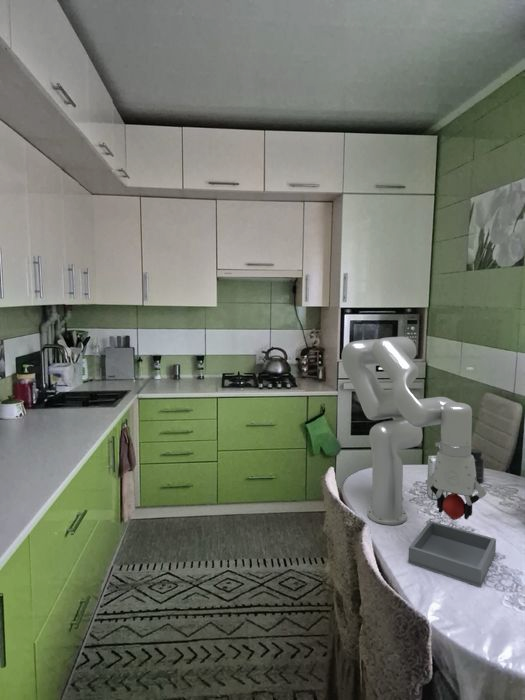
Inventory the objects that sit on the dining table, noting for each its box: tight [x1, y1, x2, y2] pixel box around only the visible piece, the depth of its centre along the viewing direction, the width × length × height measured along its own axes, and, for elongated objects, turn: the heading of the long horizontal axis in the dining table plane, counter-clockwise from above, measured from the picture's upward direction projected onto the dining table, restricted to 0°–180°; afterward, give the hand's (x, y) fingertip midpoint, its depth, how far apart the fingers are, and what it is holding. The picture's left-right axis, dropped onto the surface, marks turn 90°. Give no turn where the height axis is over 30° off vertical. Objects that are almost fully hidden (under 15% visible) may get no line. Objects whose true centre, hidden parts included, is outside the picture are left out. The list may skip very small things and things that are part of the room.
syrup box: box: [426, 455, 449, 501], centre depth 162 cm, size 6×6×14 cm
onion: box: [442, 493, 466, 521], centre depth 123 cm, size 6×6×8 cm
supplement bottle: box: [471, 448, 485, 484], centre depth 177 cm, size 7×7×12 cm
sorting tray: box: [407, 520, 497, 588], centre depth 125 cm, size 18×18×4 cm
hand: (454, 513), depth 123 cm, fingers closed on onion, 5 cm apart
